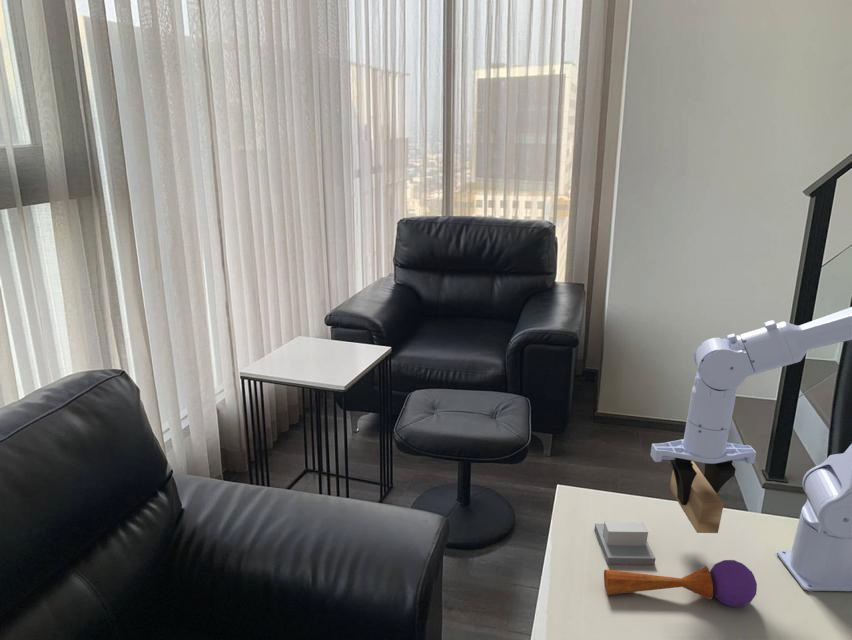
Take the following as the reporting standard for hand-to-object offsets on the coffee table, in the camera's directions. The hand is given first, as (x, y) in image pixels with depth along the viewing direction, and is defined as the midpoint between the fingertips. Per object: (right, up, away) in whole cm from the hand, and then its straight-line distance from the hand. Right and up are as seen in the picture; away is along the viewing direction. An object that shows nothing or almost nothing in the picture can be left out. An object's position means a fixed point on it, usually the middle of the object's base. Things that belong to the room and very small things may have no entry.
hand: (693, 501), depth 95 cm
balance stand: (-10, -8, +3) cm, 13 cm away
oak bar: (0, -1, 0) cm, 1 cm away
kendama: (-5, -12, -7) cm, 14 cm away
